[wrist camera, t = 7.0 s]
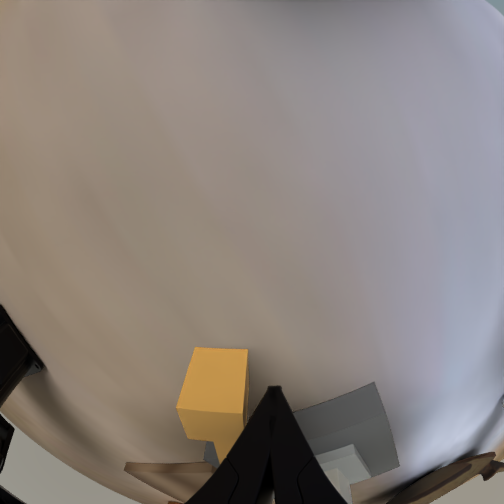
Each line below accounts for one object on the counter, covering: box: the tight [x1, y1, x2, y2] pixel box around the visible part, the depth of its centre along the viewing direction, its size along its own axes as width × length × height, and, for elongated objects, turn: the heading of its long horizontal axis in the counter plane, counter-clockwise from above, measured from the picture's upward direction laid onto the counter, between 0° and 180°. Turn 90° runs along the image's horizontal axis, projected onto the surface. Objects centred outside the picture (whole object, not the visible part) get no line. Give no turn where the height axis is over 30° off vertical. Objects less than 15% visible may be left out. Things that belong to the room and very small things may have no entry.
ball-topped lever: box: [176, 347, 249, 464], centre depth 11 cm, size 14×2×3 cm, turn 1°
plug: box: [315, 444, 371, 504], centre depth 12 cm, size 7×7×10 cm
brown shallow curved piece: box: [386, 452, 504, 504], centre depth 21 cm, size 22×30×8 cm
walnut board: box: [124, 462, 217, 503], centre depth 21 cm, size 12×12×1 cm
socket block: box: [203, 382, 400, 499], centre depth 16 cm, size 12×12×2 cm
